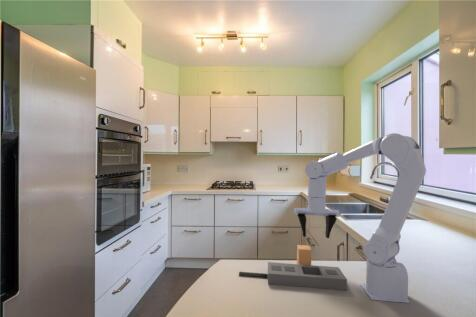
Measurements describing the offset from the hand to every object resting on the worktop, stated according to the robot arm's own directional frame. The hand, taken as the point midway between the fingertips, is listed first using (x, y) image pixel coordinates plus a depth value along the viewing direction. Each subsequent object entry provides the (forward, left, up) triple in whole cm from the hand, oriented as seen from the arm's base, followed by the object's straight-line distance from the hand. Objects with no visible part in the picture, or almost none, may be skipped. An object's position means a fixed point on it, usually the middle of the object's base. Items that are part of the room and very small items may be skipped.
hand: (315, 236), depth 84 cm
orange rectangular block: (+4, +1, -10) cm, 11 cm away
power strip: (+9, +10, -10) cm, 17 cm away
